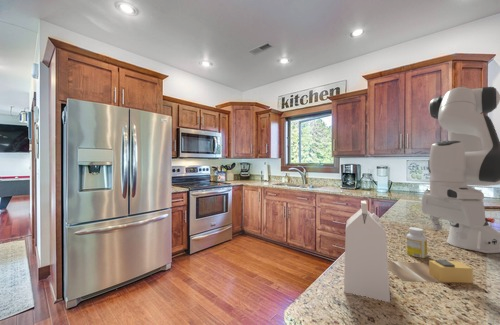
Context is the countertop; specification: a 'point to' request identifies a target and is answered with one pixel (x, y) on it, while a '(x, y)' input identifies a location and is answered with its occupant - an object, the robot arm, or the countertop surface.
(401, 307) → the countertop surface
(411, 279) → the board
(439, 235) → the countertop surface
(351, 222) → the milk
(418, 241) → the pill bottle
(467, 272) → the yellow block
